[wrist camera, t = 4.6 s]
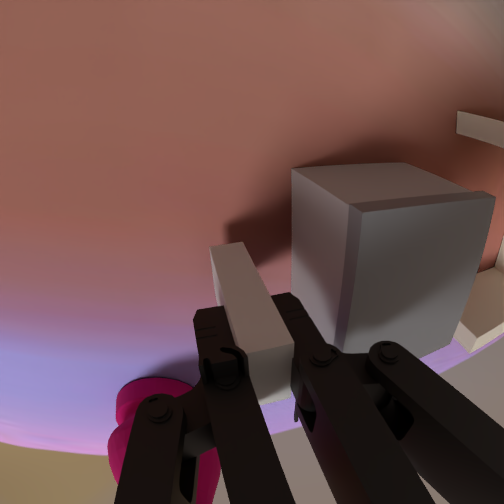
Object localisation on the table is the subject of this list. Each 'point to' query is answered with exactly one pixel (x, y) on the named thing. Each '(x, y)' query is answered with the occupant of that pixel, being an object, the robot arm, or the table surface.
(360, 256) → the rounded grey cube
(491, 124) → the bay
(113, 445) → the pepper mill
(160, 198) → the table surface
